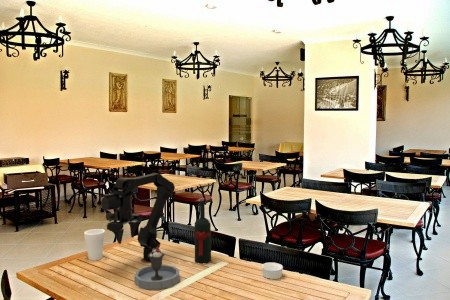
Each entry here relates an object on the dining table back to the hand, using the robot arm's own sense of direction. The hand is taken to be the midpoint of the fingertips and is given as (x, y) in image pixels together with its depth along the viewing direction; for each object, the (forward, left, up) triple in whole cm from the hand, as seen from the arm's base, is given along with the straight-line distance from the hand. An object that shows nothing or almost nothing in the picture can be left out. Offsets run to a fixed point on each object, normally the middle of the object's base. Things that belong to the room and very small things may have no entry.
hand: (126, 240), depth 173 cm
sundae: (+5, +20, -12) cm, 24 cm away
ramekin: (-19, +62, -13) cm, 66 cm away
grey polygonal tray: (+5, +20, -13) cm, 24 cm away
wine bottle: (-21, +27, -13) cm, 37 cm away
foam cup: (-4, -23, -13) cm, 27 cm away
